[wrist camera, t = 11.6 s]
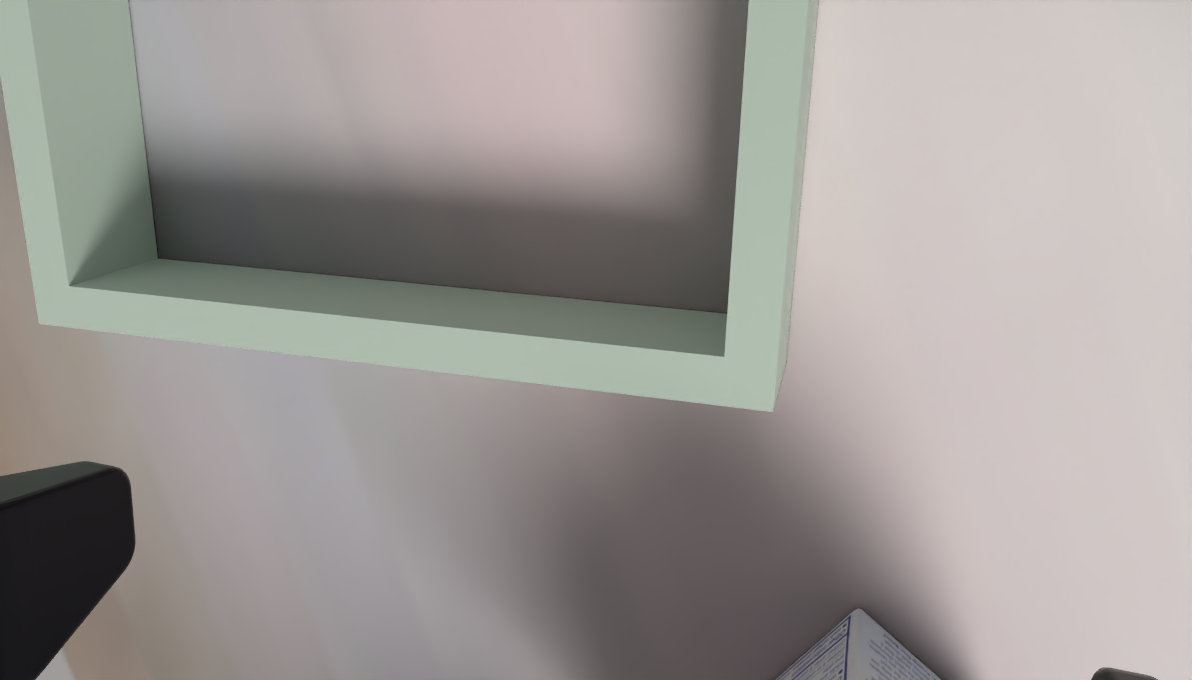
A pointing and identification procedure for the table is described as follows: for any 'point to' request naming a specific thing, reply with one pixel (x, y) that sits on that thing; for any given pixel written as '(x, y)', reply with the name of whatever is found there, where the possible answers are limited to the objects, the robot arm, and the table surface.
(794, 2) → the green square frame
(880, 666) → the medicine box
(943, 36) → the table surface
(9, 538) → the robot arm
